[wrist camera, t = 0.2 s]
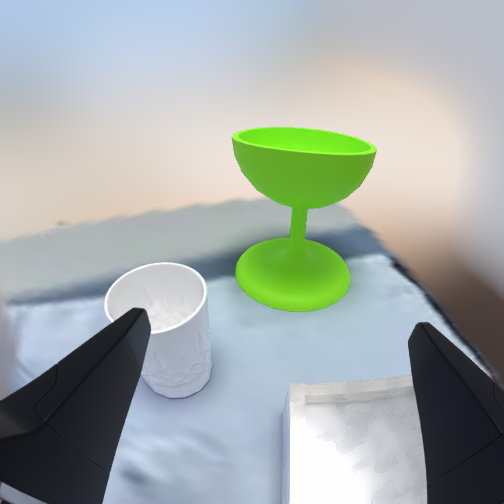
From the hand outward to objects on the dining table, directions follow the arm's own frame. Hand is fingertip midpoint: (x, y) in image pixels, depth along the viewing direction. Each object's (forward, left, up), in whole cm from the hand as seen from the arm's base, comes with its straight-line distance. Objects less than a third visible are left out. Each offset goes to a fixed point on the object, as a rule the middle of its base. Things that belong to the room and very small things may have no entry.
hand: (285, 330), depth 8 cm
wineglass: (+26, -3, -17) cm, 31 cm away
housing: (-1, -7, -17) cm, 18 cm away
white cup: (+9, +9, -17) cm, 21 cm away
